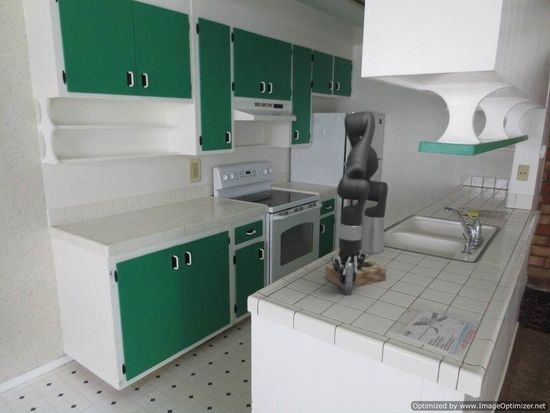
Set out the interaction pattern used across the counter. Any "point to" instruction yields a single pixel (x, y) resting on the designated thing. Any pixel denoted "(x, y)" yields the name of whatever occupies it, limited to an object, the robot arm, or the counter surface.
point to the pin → (348, 280)
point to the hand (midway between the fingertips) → (347, 282)
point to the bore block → (360, 274)
